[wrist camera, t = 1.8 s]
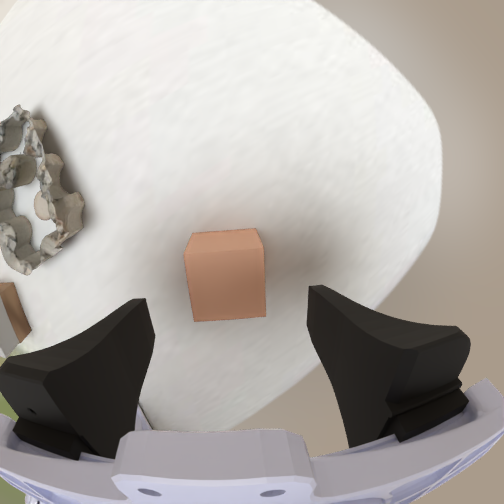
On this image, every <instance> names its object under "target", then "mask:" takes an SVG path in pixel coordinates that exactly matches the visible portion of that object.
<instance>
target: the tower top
mask: <svg viewBox="0 0 504 504" xmlns="http://www.w3.org/2000/svg"><path fill="white" fill-rule="evenodd" d="M18 344H19V340H18V338H17V336H16V334H15V331H14V329H13V327H12V325H11V322H10V320H9V317H8V315H7V312H6V310H5V307H4V305H3V302H2V299H1V296H0V357H3V358H7V357H8V356H9V355H10V353H11V352H12V351H13V350H14V348H15V347H16V346H17V345H18Z"/></svg>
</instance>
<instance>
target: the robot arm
mask: <svg viewBox="0 0 504 504" xmlns="http://www.w3.org/2000/svg"><path fill="white" fill-rule="evenodd" d="M307 327H308V331H309V334H310V337H311V341H312V343H313V345H314V348H315V350H316V352H317V354H318V356H319V358H320V360H321V362H322V364H323V366H324V368H325V370H326V373H327V375H328V377H329V379H330V381H331V384H332V386H333V389H334V392H335V396H336V399H337V402H338V405H339V409H340V412H341V416H342V419H343V423H344V427H345V431H346V435H347V439H348V444H349V449H346V450H342V451H339V452H335V453H331V454H326V455H322V456H317V457H312V458H309V454H308V451H307V447H306V444H305V441H304V439H303V437H302V436H301V435H298V434H295V433H292V432H289V431H286V430H284V429H249V430H234V431H209V432H185V431H161V430H152V428H151V427H150V425H149V423H148V421H147V419H146V418H145V416H144V414H143V412H142V410H141V408H140V406H139V404H138V401H139V396H140V392H141V388H142V385H143V382H144V379H145V376H146V373H147V369H148V366H149V363H150V360H151V357H152V353H153V348H154V341H155V333H154V329H153V326H152V322H151V318H150V314H149V310H148V306H147V302H146V298H142V299H132V300H130V301H128V302H127V303H125V304H124V305H122V306H121V307H119V308H118V309H116V310H115V311H114V312H112V313H111V314H109V315H108V316H107V317H105V318H104V319H102V320H101V321H99V322H98V323H96V324H95V325H93V326H92V327H90V328H88V329H87V330H85V331H83V332H82V333H80V334H78V335H76V336H74V337H72V338H70V339H68V340H66V341H63V342H61V343H58V344H56V345H54V346H51V347H48V348H45V349H42V350H39V351H35V352H31V353H27V354H22V355H17V356H10V357H8V358H7V359H6V360H5V362H4V363H3V364H2V366H1V367H0V392H1V393H2V395H3V396H4V398H5V399H6V400H7V402H8V403H9V404H10V406H11V407H12V409H13V410H14V411H15V413H16V414H17V415H18V416H19V418H18V420H17V422H15V421H14V420H13V419H11V418H10V417H8V416H6V415H3V414H1V413H0V476H1V477H2V478H3V479H4V480H6V481H7V482H8V483H9V484H11V485H12V486H14V487H15V488H17V489H19V490H20V491H22V492H24V493H26V497H25V502H26V503H25V504H409V503H411V502H413V501H415V500H417V499H418V498H420V497H422V496H424V495H425V494H427V493H429V492H430V491H432V490H434V489H436V488H437V487H439V486H440V485H442V484H444V483H445V482H447V481H448V480H450V479H451V478H453V477H454V476H456V475H457V474H458V473H460V472H461V471H463V470H464V469H466V468H467V467H469V466H470V465H471V464H473V463H474V462H475V461H477V460H478V459H479V458H480V457H482V456H483V455H484V454H486V453H487V452H488V451H489V449H490V448H492V446H493V445H494V444H495V443H496V442H497V441H498V440H499V439H500V438H501V437H502V435H503V434H504V397H503V395H502V394H501V393H500V392H499V391H498V390H497V389H496V387H495V386H494V385H493V384H492V383H491V382H490V381H489V380H488V379H487V378H485V379H483V380H481V381H480V382H478V383H476V384H475V385H473V386H471V387H470V388H468V389H467V390H466V391H465V392H464V393H463V392H462V391H461V390H460V389H459V388H460V387H461V386H462V382H461V381H460V380H459V379H458V376H459V374H460V372H461V370H462V368H463V366H464V364H465V362H466V360H467V357H468V355H469V351H470V345H471V343H470V339H469V337H468V336H467V335H466V334H465V333H464V332H463V331H462V330H460V329H459V328H458V327H457V326H441V325H440V326H439V325H429V324H421V323H415V322H410V321H406V320H401V319H397V318H394V317H390V316H387V315H384V314H382V313H379V312H376V311H374V310H371V309H369V308H367V307H365V306H362V305H360V304H358V303H356V302H354V301H352V300H350V299H348V298H347V297H345V296H343V295H341V294H339V293H337V292H336V291H334V290H332V289H330V288H328V287H326V286H324V285H316V286H309V292H308V311H307Z"/></svg>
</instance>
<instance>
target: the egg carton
mask: <svg viewBox="0 0 504 504" xmlns="http://www.w3.org/2000/svg"><path fill="white" fill-rule="evenodd" d="M13 111H14V112H13V113H12V114H11V115H10V117H8V118H7V119H6V120H4V121H2V122H1V123H0V155H1V153H2V152H9V151H14V150H15V149H17V148H18V146H19V144H20V142H21V139H22V125H23V124H24V123H25V122H26V121H28V122H29V124H30V126H29V127H28V128H27V135H26V137H25V148H24V151H23V153H24V154H21V152H20V154H21V155H11V156H9V157H8V158H6V159H5V160H4V161H3V162H2V163H1V157H0V247H1V251H2V254H3V257H4V259H5V261H6V262H7V264H8V266H10V267H11V268H12V269H14V270H16V271H18V272H20V273H22V274H24V275H30V274H31V273H32V270H34V269H36V268H37V267H39V266H40V265H41V264H42V263H43V262H44V261H46V260H47V259H49V258H50V257H53V256H54V255H55V254H57V253H58V252H59V251H61V250H62V249H63V247H61V246H60V245H61V244H62V243H63V242H64V241H65V240H66V239H68V238H70V237H71V236H73V235H74V234H76V233H77V232H79V231H80V230H81V229H82V228H83V223H82V219H81V213H82V209H83V207H84V206H85V204H84V200H83V198H82V196H81V195H80V193H79V192H77V193H76V192H74V193H72V194H69V193H67V192H66V191H65V190H64V189H63V188H62V186H61V184H60V172H61V170H62V167H63V166H64V163H63V161H62V160H61V159H60V157H59V156H58V154H53V153H50V154H46V153H45V152H44V150H43V145H42V140H43V136H44V134H45V132H46V130H47V126H46V123H45V121H44V120H43V119H39V120H34V119H32V118H31V117H30V118H29V115H30V112H29V111H27V110H23V109H22V108H21V107H20V105H17V106H15V107H14V109H13ZM34 157H35V158H36V157H42V162H41V164H40V166H39V168H38V171H37V174H36V170H37V167H36V161H35V158H34ZM35 175H36V177H37V179H38V180H39V181H40V189H41V191H39V192H38V193H37V195H36V196H35V199H34V209H35V213H36V215H37V216H38V217H39V218H40V219H41V220H49V219H50V218H51V219H52V220H53V222H54V223H55V224H56V228H57V230H56V231H54V232H52V233H51V234H49V235H47V236H45V237H44V239H43V240H42V243H41V246H40V251H37V252H35V251H34V249H33V248H32V246H31V244H30V240H31V238H32V227H31V224H30V222H29V220H28V219H27V218H26V217H25V216H18V217H16V216H15V214H14V212H13V210H12V205H13V202H14V190H13V188H15V187H19V186H23V185H27V184H29V183H31V182H32V181H33V179H34V177H35Z"/></svg>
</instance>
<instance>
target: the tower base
mask: <svg viewBox="0 0 504 504" xmlns="http://www.w3.org/2000/svg"><path fill="white" fill-rule="evenodd" d="M0 296H1V299H2V302H3V305H4V307H5V310H6V312H7V315H8V317H9V320H10V322H11V325H12V327H13V329H14V331H15V334H16V336H17V338H18V340H19V343H21V342H22V341H23V340H24V339H25V338H26V336H27V335H28V334H29V333H30V332H31V331H32V330H31V328H30V325H29V323H28V321H27V318H26V316H25V313H24V311H23V308H22V305H21V303H20V300H19V297H18V294H17V292H16V289H15V286H14V282H13V283H0Z"/></svg>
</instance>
